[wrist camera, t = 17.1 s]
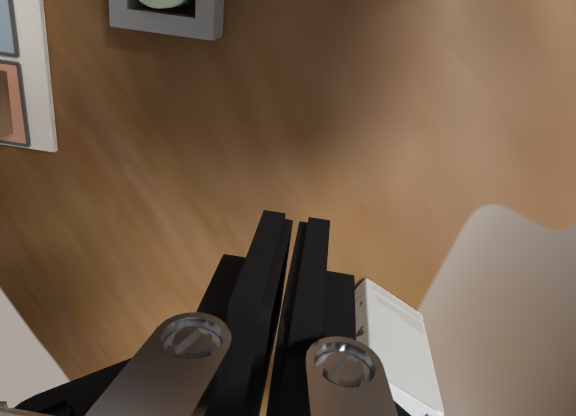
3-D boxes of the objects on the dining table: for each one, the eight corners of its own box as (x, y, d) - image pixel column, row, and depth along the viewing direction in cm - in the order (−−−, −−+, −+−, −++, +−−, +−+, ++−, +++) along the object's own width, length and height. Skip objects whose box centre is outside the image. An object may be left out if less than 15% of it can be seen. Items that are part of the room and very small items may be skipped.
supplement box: (365, 274, 45) (371, 368, 34) (423, 313, 47) (449, 417, 35) (320, 321, 48) (312, 422, 37) (376, 357, 50) (385, 466, 38)
